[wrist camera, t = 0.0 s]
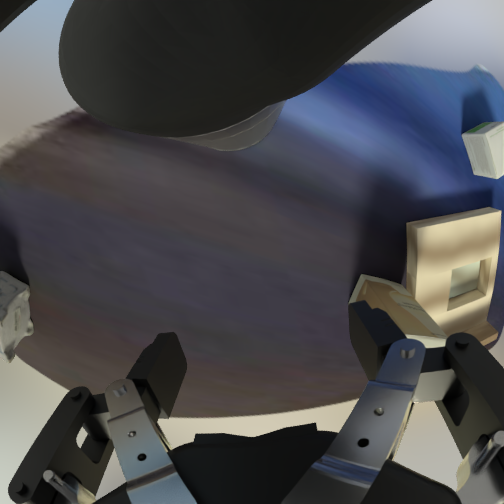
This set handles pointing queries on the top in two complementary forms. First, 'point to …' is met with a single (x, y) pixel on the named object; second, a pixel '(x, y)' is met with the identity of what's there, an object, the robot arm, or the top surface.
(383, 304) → the skincare box
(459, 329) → the rack
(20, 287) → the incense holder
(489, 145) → the small box
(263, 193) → the top surface
